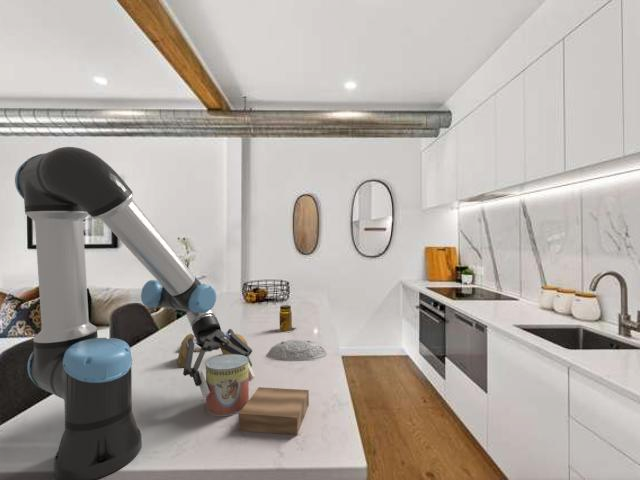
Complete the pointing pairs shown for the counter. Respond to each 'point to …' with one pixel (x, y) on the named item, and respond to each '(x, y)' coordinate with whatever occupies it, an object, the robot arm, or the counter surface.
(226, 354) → the potato
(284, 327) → the condiment
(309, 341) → the silver oval dome
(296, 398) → the walnut base
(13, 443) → the counter surface
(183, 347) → the rock
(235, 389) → the canned food
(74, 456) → the robot arm
